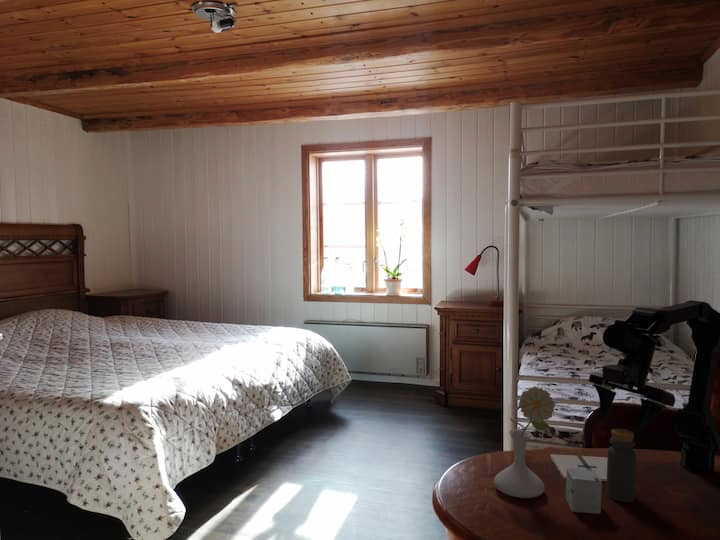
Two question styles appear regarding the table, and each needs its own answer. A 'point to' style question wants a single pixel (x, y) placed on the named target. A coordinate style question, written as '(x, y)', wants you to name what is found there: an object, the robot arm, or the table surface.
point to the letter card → (581, 464)
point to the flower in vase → (518, 475)
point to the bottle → (621, 466)
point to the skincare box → (583, 490)
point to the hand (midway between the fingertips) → (619, 423)
